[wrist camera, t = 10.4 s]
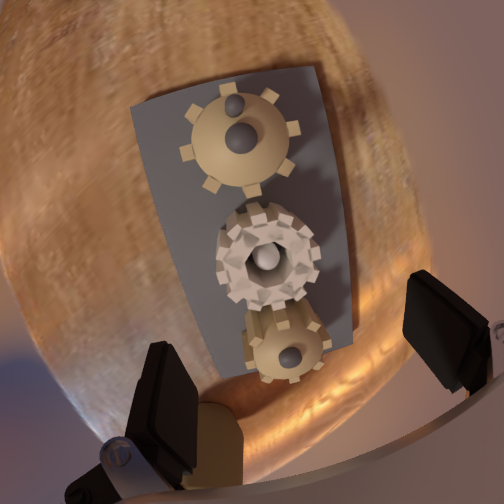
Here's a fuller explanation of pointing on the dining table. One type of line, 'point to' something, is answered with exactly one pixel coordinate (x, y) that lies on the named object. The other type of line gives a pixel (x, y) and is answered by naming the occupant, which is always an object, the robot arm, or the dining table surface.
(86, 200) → the dining table surface
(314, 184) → the gear board
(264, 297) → the cream idler gear
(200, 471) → the squeeze bottle
